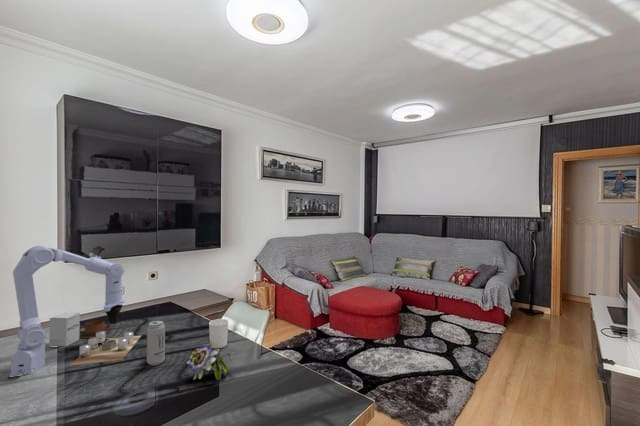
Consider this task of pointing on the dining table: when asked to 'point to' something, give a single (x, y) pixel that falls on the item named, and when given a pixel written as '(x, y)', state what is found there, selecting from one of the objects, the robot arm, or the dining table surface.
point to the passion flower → (206, 361)
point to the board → (106, 353)
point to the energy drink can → (155, 343)
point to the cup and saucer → (93, 328)
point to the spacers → (100, 337)
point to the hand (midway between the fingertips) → (113, 323)
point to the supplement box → (64, 329)
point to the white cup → (218, 332)
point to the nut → (108, 345)
